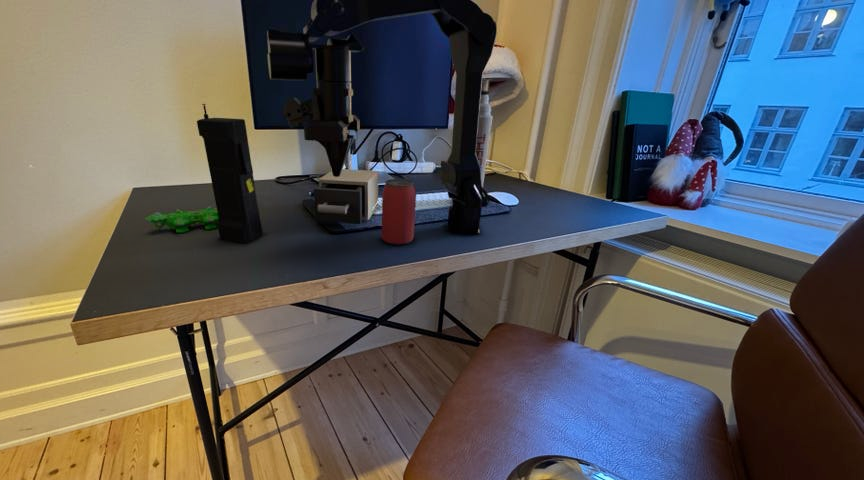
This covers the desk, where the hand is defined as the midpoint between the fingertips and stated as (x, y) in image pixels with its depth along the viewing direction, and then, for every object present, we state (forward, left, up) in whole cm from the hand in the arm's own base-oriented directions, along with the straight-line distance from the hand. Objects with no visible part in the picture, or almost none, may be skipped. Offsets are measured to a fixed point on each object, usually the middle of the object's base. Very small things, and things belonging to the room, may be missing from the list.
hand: (336, 176), depth 68 cm
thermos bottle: (-26, -36, -14) cm, 46 cm away
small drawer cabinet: (+3, -21, -13) cm, 25 cm away
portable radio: (+20, +1, -14) cm, 24 cm away
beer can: (-11, -4, -13) cm, 18 cm away
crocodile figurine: (+33, -2, -14) cm, 36 cm away
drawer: (+3, -13, -12) cm, 18 cm away
